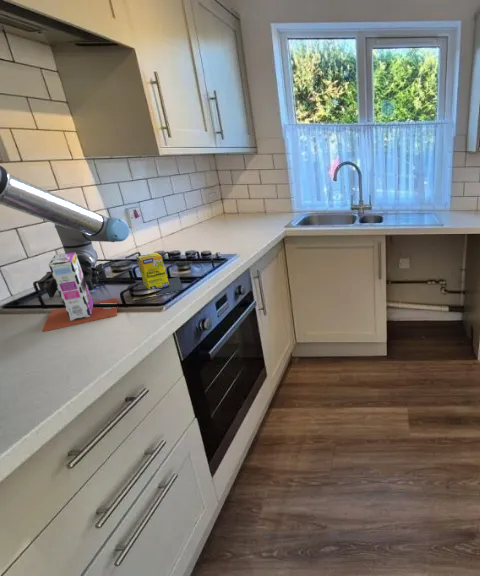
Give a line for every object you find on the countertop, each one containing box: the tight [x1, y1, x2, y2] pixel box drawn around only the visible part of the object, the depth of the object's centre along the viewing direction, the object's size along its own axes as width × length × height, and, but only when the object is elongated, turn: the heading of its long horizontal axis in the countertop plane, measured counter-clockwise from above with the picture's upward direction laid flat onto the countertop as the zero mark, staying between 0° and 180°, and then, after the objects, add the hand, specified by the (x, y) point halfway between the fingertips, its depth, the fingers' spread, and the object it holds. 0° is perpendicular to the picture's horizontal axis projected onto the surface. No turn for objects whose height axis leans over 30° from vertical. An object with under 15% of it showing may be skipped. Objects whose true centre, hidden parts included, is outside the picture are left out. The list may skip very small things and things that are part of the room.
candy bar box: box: [48, 252, 94, 321], centre depth 100 cm, size 11×5×16 cm, turn 34°
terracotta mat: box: [41, 297, 119, 333], centre depth 103 cm, size 16×14×1 cm
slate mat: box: [156, 276, 185, 295], centre depth 120 cm, size 14×14×1 cm
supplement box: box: [135, 252, 170, 289], centre depth 118 cm, size 6×6×11 cm
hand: (69, 289), depth 96 cm, fingers open, 8 cm apart
